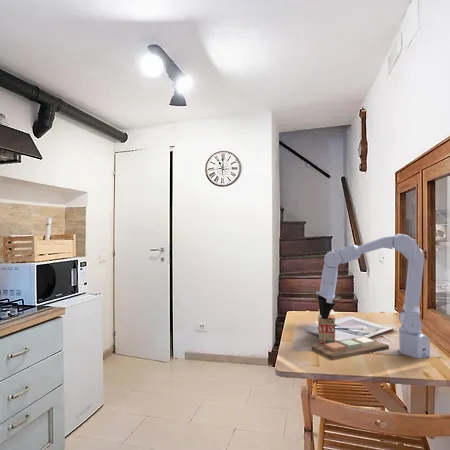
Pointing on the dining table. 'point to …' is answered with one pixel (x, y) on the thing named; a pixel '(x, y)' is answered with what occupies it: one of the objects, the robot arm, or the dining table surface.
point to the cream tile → (364, 341)
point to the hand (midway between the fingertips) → (323, 316)
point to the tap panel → (349, 352)
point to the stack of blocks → (326, 328)
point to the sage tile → (350, 344)
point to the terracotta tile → (334, 347)
